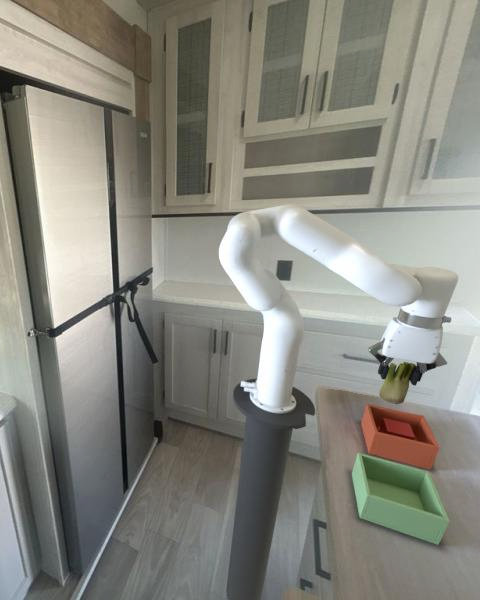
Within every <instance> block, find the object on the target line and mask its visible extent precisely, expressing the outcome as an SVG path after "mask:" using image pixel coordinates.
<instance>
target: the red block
mask: <svg viewBox="0 0 480 600" xmlns="http://www.w3.org/2000/svg"><path fill="white" fill-rule="evenodd" d="M379 432H381V433H385V434H389V435H393V436H398V437H402V438H406V439H410V440H414V439H415V436H414V434H413V431H412V429H411V426H410V424H409V423H404V422H400V421H395V420H391V419H386V418H383V420H382V423H381V426H380V430H379Z"/></svg>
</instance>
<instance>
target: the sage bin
mask: <svg viewBox="0 0 480 600" xmlns="http://www.w3.org/2000/svg"><path fill="white" fill-rule="evenodd" d="M351 478H352V484H353V489H354V495H355V499H356V506H357V511H358V516H359V519H362V520H365V521H366V522H367V521H368V522H370V523H373V524H376V525H379V526H382V527H385V528H388V529H390V530H394V531H397V532H399V533H402V534H405V535H408V536H411V537H414V538H416V539H420V540H422V541H424V542H428V543H432V544H434V545H436V546H439V545H440V542H441V541H442V539H443V536H444V535H445V532H446V530H447V528H448V526H449V524H450V522H451V521H450V518H449V515H448V514H447V511H446V509H445V506H444V504H443V501H442V499H441V496H440V494H439V491H438V489H437V487H436V485H435V482H434V480H433V478H432V475H431V473H430V471H428V470H424V469H421V468H417V467H413V466H411V465H406V464H401V463H399V462H396V461H392V460H391V461H390V460H387V459H385V458H384V459H383V458H381V457H376V456H374V455H373V456H372V455H370V454H369V455H368V454H365V453H362V452H361V453H360V452H357V454H356V458H355V461H354V464H353V468H352V471H351Z"/></svg>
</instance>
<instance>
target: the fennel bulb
mask: <svg viewBox="0 0 480 600" xmlns="http://www.w3.org/2000/svg"><path fill="white" fill-rule="evenodd" d="M416 366H417V364H416V363H414V362H408V361H403V362H401V363H399V364H398V366H397V364H396V363H394V362H390V363H389V371H388V374H387V377H386V379H385V380H384V379H383V382H382V384H381V386H380V389H379V393H378V394H379V398H380V399H382V400H384V401H385V402H388V403H390V404H394V405H400V404H403V403H405V400H406V396H407V394H408V392H409V388H410V383H411V382H410V377H411V374H412V372H413V370H414V368H415V367H416Z"/></svg>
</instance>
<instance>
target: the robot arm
mask: <svg viewBox="0 0 480 600" xmlns="http://www.w3.org/2000/svg"><path fill="white" fill-rule="evenodd" d="M274 237H278V238H280V240H282V241H283V242H285V243H287V244H289V245H290V246H292V247H293V248H295V249H297V250H298V251H300V252H302V253H304V254H305V255H306V256H308V257H310V258H312V259H314V260H315V261H317V262H318V263H320V264H321V265H323V266H324V267H326V268H327V269H329V270H330V271H332V272H333V273H335V274H337V275H338V276H340V277H341V278H343V279H345V280H346V281H347V282H349V283H351V284H352V285H354V286H355V287H356V288H358V289H360V290H361V291H363V292H365V293H366V294H367V295H369V296H371V297H373V298H374V299H376V300H377V301H380V302H382V303H383V304H385V305H388V306H391V307H400V308H399V311H398V314H397V316H394V317H392V318H391V319H390V321H389V323H388V324H387V326H386V328H385V330H384V332H383V334H382V336H381V338H380V341H379V342H377V343H375V344H373V345H371V346H369V347H368V348H367V350H368V352H369V354H371V355H372V356H373V357H374V358H375V359H376V360H377V361H378V362H379V363H380V364H379V365H378V369H377V374H378V375H379V376H380V378H381V380H383V381H384V380H385V379H386V377H387V374H388V371H389V367H390V364H391V363H392V361H393V360H394V359H397V360H402V361H406V362H408V361H409V362H412V363H415V364H416V367H415V368H414V370H413V372H412V374H411V377H410V382H409V383H410V384H411V385H412V386H415V387H416V386H417V384H418V383H419V382H421V381H422V378H423V375H424V374H427V372H428V371H431V370H434V369H436V368H439V367H443V366H446V365H448V361H447V360H446V358H444V356H443V355H442V353H440V351H441V346H442V341H443V334H444V327H443V324H445V323H448V324H449V323H451V322H452V317H450V316H447V315H446V312H447V310H448V307H449V305H450V302H451V300H452V297H453V296H454V292H455V290H456V287H457V285H458V283H459V275H458V274H457V273H456V272H455V271H453V270H450V269H446V268H441V267H434V266H430V267H429V266H428V267H427V266H426V267H416V266H415V267H414V266H409V265H408V266H407V265H401V264H396V263H389V262H387V261H386V260H384V259H383V258H381V257H379V256H378V255H377V254H375V253H374V252H372V251H371V250H369V249H368V248H367V247H366V246H364V245H363V244H362V242H360V241H359V240H358V239H356V238H354V237H353V236H352V235H350V234H348V233H346V232H344V231H343V230H341V229H339V228H338V227H336V226H334V225H332V224H330V223H329V222H327V221H325V220H324V219H322V218H321V217H319V216H317V215H315V214H314V213H312V212H310V211H309V210H307V209H306V208H305V207H304V206H302V205H301V204H297V203H296V204H295V203H287V204H282V205H277V206H272V207H271V206H270V207H267V208H266V207H265V208H261V209H254V210H249V211H248V210H247V211H243V212H240V213H238V214H236V215H234V216H233V217H232V218H231V219H230V220H229V222H228V224H227V229H226V231H225V234H224V236H223V238H222V239H221V241H220V245H219V248H218V259H219V262H220V265H221V266H222V269H223V270H224V271H225V273H226V274H227V276H228V277H229V278H230V281H232V283H233V285H234V286H235V287H236V289H237V291H238V292H239V293H240V295H241V296H242V298H243V299H244V301H245V302H246V304H247V305H248V306H249V307H250V308H252V309H254V310H255V311H258V312H260V314H261V315H262V317H263V334H262V340H261V345H260V352H259V353H260V354H259V363H258V370H257V378H256V379H257V380H256V383H254V382H252V383H249V382H245V381H246V380H241V382H240V383H241V387H244V391H246V392H250V399H251V400H252V402H253V403H254V404H255V405H256V406H258V407H259V408H261V409H263V410H265V411H268V412H272V413H279V414H283V413H289V412H291V411H293V410H294V409H295V407H296V400H295V398H294V397H293V396H292V395H291V394H292V389H293V387H294V382H295V377H296V370H297V365H298V359H299V353H300V349H301V345H302V342H303V340H304V336H305V324H304V323H305V322H304V319H303V315H302V314H301V312H300V310H299V306H298V305H297V303H296V301H295V300H294V299H293V297H292V296H291V294H290V293H289V291H288V290H287V288H286V287H285V286H284V285H283V283H282V282H281V279H279V278H278V276H277V275H276V274H275V273H274V272H273V271H271V270H268V269H266V268H264V267H263V266H262V264H261V262H260V261H259V259H258V258H257V257H256V255H255V252H254V250H255V247H256V246H257V244H258V242H259V241H260V240H261V239H267V238H274ZM380 350H382V351H381V353H382V354H381V353H380V352H379V351H380Z"/></svg>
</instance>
